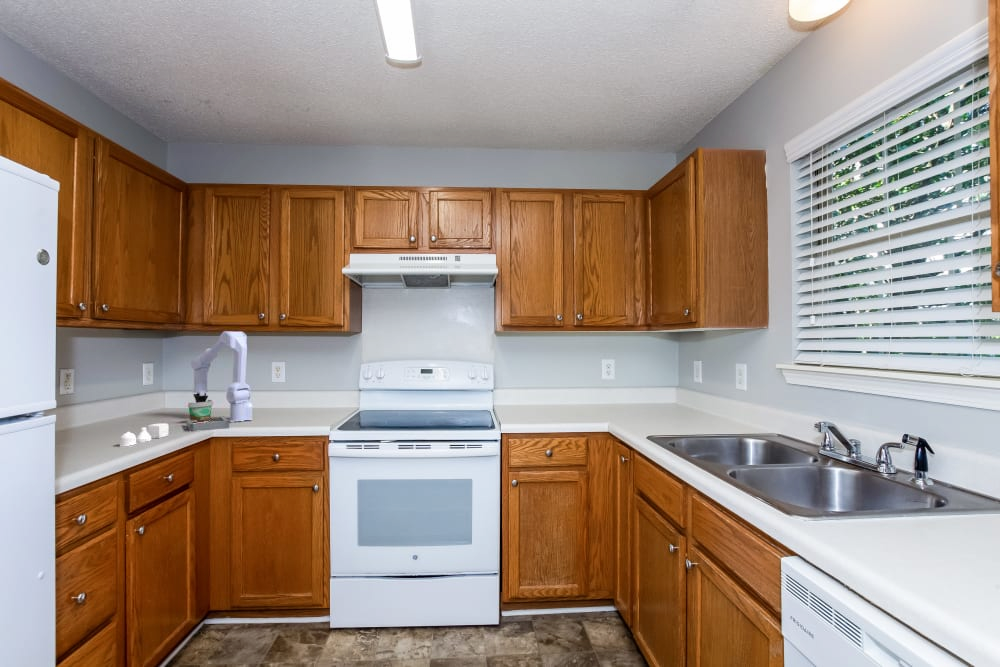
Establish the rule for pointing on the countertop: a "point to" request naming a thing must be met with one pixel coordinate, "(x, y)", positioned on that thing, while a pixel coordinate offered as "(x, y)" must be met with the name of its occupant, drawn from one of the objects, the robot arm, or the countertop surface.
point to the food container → (200, 411)
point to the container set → (145, 434)
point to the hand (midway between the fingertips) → (200, 408)
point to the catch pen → (208, 425)
